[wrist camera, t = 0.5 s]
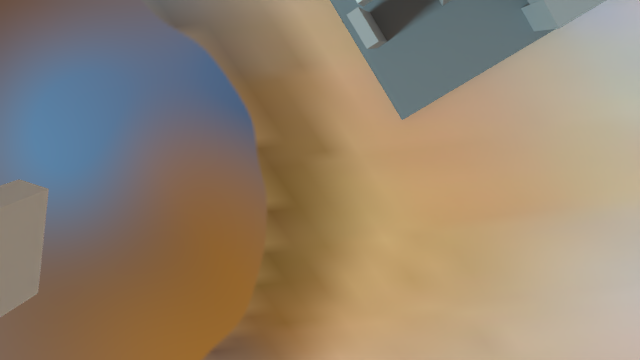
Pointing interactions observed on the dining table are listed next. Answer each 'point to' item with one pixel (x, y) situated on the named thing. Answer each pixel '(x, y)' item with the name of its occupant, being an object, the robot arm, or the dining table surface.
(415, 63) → the base plate
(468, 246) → the dining table surface
